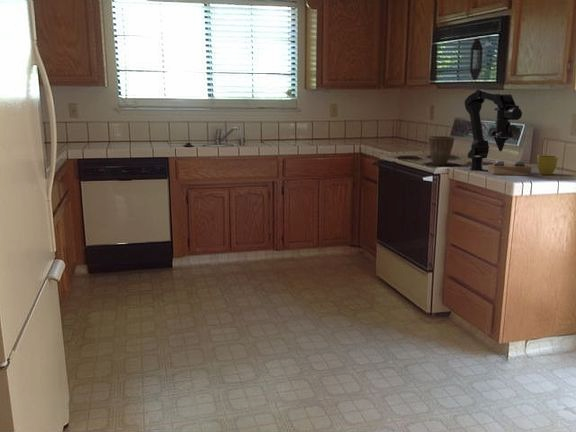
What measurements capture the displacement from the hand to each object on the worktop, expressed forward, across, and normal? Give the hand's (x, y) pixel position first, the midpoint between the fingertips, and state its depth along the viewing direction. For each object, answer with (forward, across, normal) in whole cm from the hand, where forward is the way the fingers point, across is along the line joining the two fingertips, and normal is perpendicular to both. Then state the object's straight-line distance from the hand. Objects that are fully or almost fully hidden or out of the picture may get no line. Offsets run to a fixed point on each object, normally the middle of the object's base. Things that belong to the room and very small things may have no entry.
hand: (500, 151), depth 274 cm
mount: (+11, 0, -5) cm, 12 cm away
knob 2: (+11, 0, -10) cm, 15 cm away
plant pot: (+11, +43, +22) cm, 50 cm away
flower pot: (+12, 0, -23) cm, 26 cm away
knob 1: (+11, 0, 0) cm, 11 cm away
